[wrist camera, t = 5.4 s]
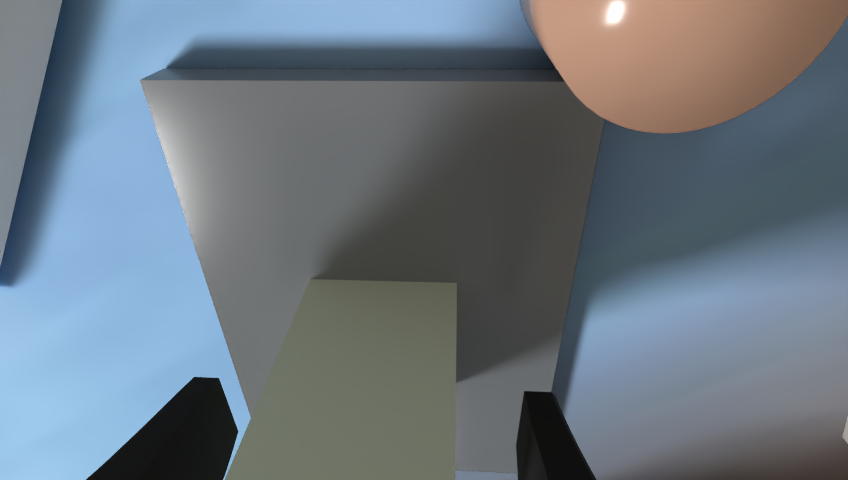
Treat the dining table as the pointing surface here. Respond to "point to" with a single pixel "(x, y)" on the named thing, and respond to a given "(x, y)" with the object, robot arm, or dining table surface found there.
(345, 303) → the sage block
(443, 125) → the slate board
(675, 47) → the tan sphere
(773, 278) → the dining table surface
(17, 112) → the crystal
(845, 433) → the off-white cube
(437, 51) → the dining table surface
